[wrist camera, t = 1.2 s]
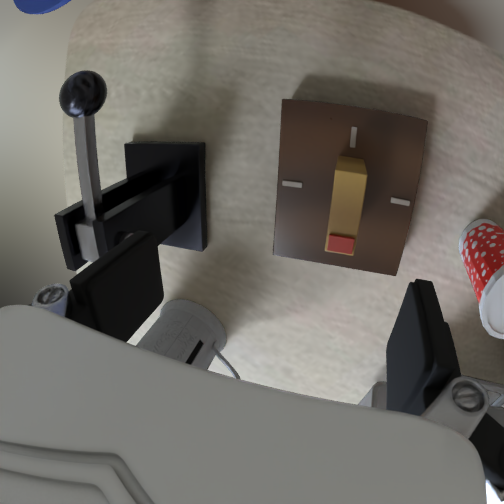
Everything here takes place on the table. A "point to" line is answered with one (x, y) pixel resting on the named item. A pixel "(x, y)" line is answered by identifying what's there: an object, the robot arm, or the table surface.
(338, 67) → the table surface
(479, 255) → the beverage cup
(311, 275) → the table surface
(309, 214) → the lock plate
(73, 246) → the handle bracket
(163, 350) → the glass holder
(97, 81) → the door lever
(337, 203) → the thumb turn
